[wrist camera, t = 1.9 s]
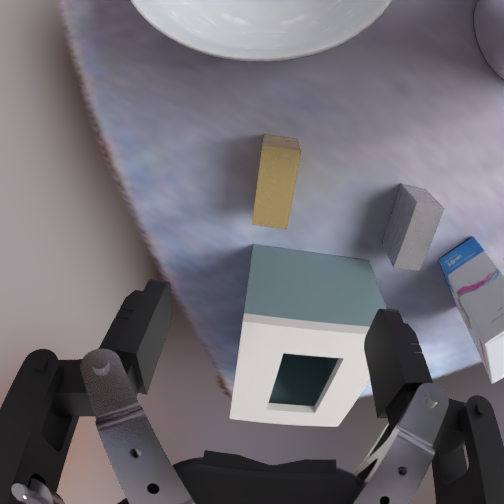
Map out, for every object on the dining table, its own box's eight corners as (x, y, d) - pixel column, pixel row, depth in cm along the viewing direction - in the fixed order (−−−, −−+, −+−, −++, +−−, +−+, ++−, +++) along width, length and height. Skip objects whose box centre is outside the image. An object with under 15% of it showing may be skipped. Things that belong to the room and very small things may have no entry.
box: (253, 244, 29) (242, 321, 21) (368, 260, 29) (395, 336, 21) (239, 346, 37) (229, 418, 29) (330, 356, 37) (337, 426, 29)
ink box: (434, 259, 29) (484, 346, 19) (473, 234, 27) (533, 312, 17) (455, 308, 32) (492, 387, 22) (488, 286, 30) (533, 361, 20)
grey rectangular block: (381, 242, 28) (393, 267, 25) (400, 183, 25) (417, 201, 22) (405, 246, 28) (419, 271, 25) (425, 189, 25) (444, 208, 22)
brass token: (255, 202, 27) (251, 224, 24) (264, 133, 24) (262, 145, 21) (285, 206, 27) (286, 229, 24) (297, 138, 24) (301, 151, 21)
